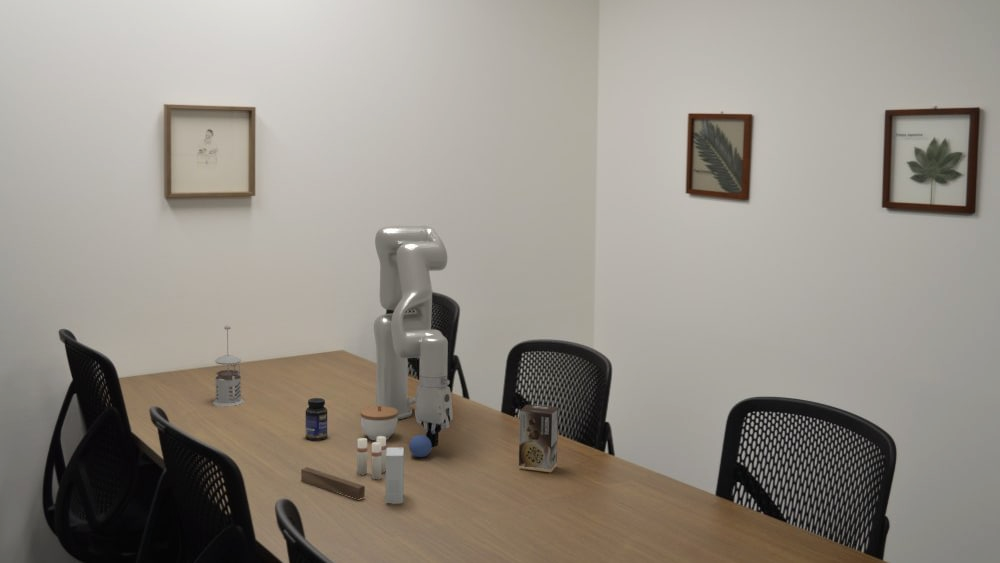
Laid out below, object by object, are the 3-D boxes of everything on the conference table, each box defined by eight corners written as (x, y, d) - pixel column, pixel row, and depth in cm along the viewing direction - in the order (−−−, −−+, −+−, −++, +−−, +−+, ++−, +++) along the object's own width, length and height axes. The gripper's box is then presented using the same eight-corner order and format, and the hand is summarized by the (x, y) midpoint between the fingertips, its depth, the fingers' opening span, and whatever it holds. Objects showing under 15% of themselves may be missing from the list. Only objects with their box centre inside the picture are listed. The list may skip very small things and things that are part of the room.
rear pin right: (362, 470, 248) (362, 437, 247) (369, 473, 247) (369, 439, 246) (355, 473, 246) (355, 439, 245) (362, 475, 245) (362, 441, 244)
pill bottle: (322, 441, 271) (322, 403, 269) (302, 439, 272) (301, 402, 270) (330, 435, 277) (330, 398, 275) (310, 433, 278) (310, 396, 276)
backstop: (307, 478, 242) (307, 467, 241) (364, 498, 230) (364, 486, 230) (301, 480, 240) (301, 469, 240) (358, 500, 228) (358, 488, 228)
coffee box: (557, 466, 256) (559, 407, 254) (550, 474, 250) (552, 413, 248) (524, 461, 259) (526, 403, 256) (517, 469, 253) (519, 409, 250)
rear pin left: (376, 475, 245) (376, 441, 244) (383, 477, 244) (383, 443, 243) (369, 478, 243) (369, 443, 242) (376, 480, 242) (376, 445, 241)
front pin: (380, 468, 250) (381, 435, 249) (387, 471, 249) (388, 437, 247) (374, 471, 248) (374, 437, 247) (381, 473, 247) (381, 439, 245)
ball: (421, 445, 265) (416, 428, 262) (438, 451, 262) (433, 433, 259) (407, 458, 261) (402, 440, 258) (424, 464, 258) (419, 446, 255)
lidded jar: (405, 437, 276) (406, 406, 275) (376, 445, 269) (376, 413, 267) (381, 429, 284) (381, 398, 282) (352, 436, 276) (352, 405, 275)
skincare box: (385, 494, 232) (386, 447, 231) (403, 494, 233) (404, 447, 231) (385, 504, 226) (385, 455, 225) (403, 504, 227) (403, 455, 225)
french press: (207, 405, 303) (205, 327, 300) (223, 395, 315) (222, 320, 311) (236, 407, 302) (235, 329, 298) (251, 397, 313) (251, 322, 309)
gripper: (463, 382, 260) (462, 448, 263) (420, 374, 268) (419, 437, 271) (446, 388, 254) (445, 455, 256) (403, 379, 262) (402, 444, 265)
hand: (432, 446), depth 264 cm, fingers closed
